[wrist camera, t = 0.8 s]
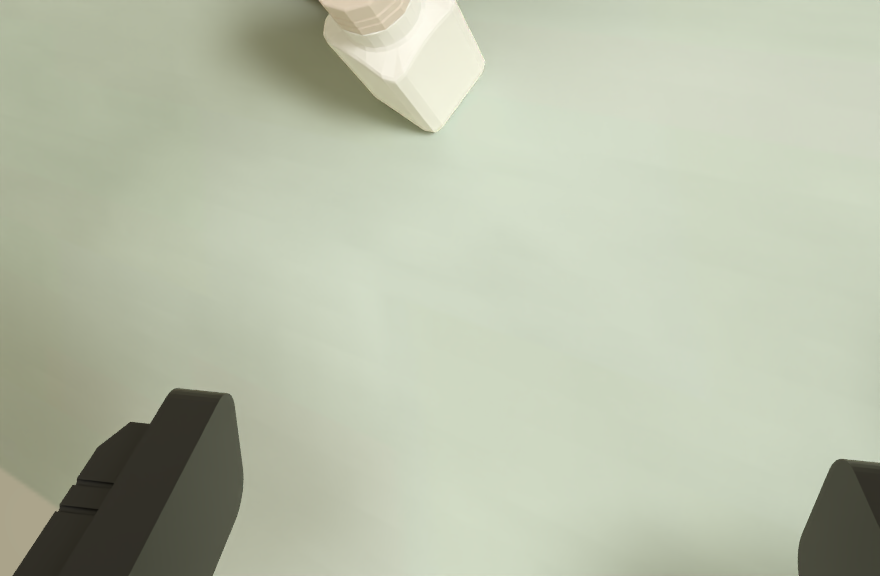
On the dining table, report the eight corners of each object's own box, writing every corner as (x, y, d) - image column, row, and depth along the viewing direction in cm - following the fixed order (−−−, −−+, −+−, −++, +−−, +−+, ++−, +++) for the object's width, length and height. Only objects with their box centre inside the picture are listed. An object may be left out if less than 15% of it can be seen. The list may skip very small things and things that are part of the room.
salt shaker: (494, 66, 34) (435, -60, 25) (438, 142, 34) (360, 44, 25) (423, 21, 35) (342, -114, 26) (369, 95, 36) (271, -14, 26)
